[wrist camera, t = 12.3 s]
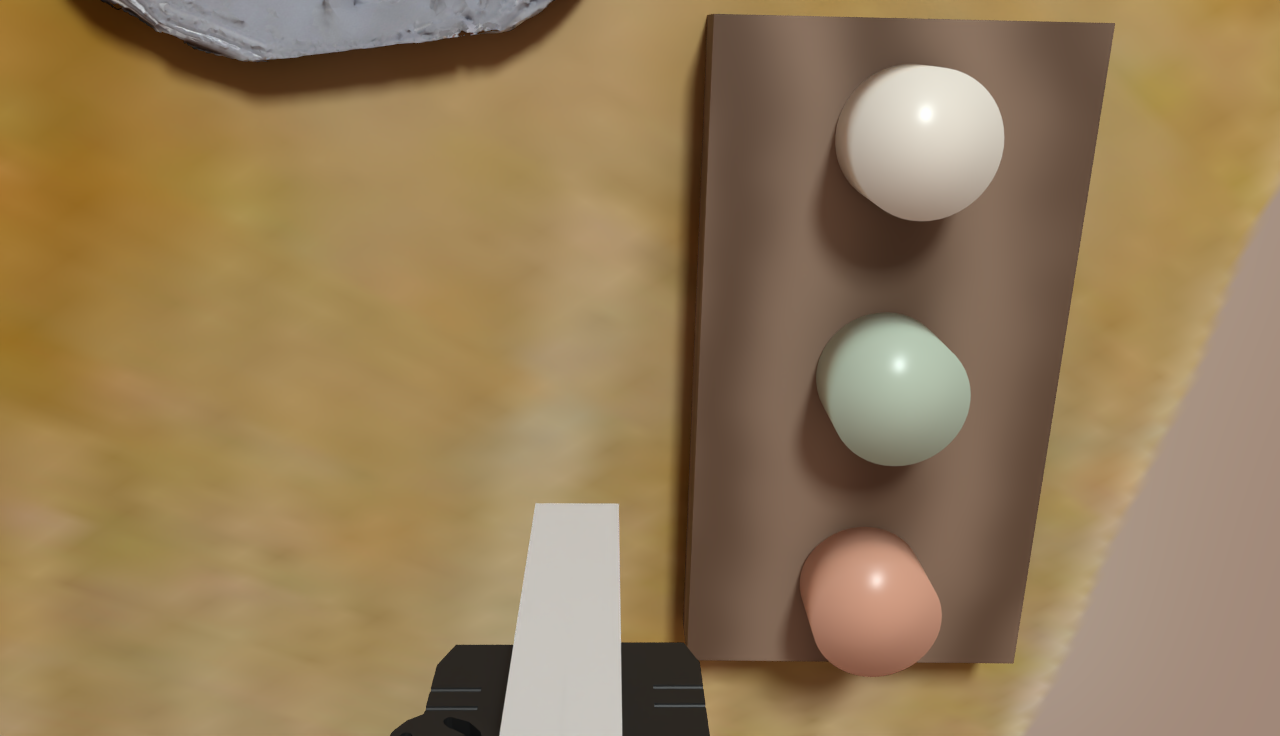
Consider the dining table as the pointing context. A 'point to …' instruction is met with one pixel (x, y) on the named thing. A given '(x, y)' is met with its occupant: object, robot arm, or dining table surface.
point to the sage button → (892, 389)
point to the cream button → (920, 140)
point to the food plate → (322, 23)
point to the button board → (866, 284)
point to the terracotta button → (869, 602)
